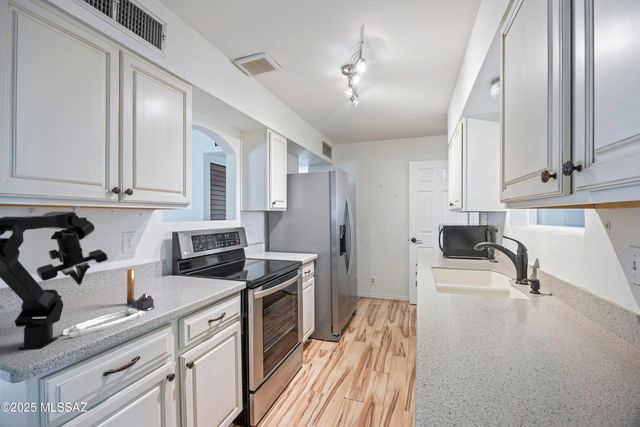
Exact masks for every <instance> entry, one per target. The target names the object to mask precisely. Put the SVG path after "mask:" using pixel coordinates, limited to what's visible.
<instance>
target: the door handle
mask: <svg viewBox="0 0 640 427" xmlns="http://www.w3.org/2000/svg"><path fill="white" fill-rule="evenodd" d="M144 315H146V311H141V310H140V311H137V310H136V309H135V308H131V307H130V308H128V309H127V308H126V309H125V310H121V311H118V312H113V313H109V314H106V315H102V316H98V317H96V318H92V319H88V320H86V321H83V322H80V323H77V324H76V323H75V324H73V325H70V326H68V328H66V329H63V330H62V331H61V334H62V335H64V336H68V337H70V338H73V339H74V338H75V339H76V338H78V337H80V338H81V337H83V336H84V335H85V336H87V334H88V335H90V334H94V333H98V332H103V331H106V330H109V329H112V328H115V327H119V326H122V325H124V324H127V323H129V322H132V321H134V320H136V319H139V318H141V317H143V316H144ZM124 316H125V317H124ZM120 317H123V318H120ZM117 318H120V319H117ZM113 319H116V320H115V321H110V320H113ZM106 321H110V322H108V323H104V324H100V323H102V322H106ZM96 324H100V325H97V326H94V325H96ZM87 326H88V327H89V328H87ZM90 326H93V327H90ZM105 329H106V330H105Z"/></svg>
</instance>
